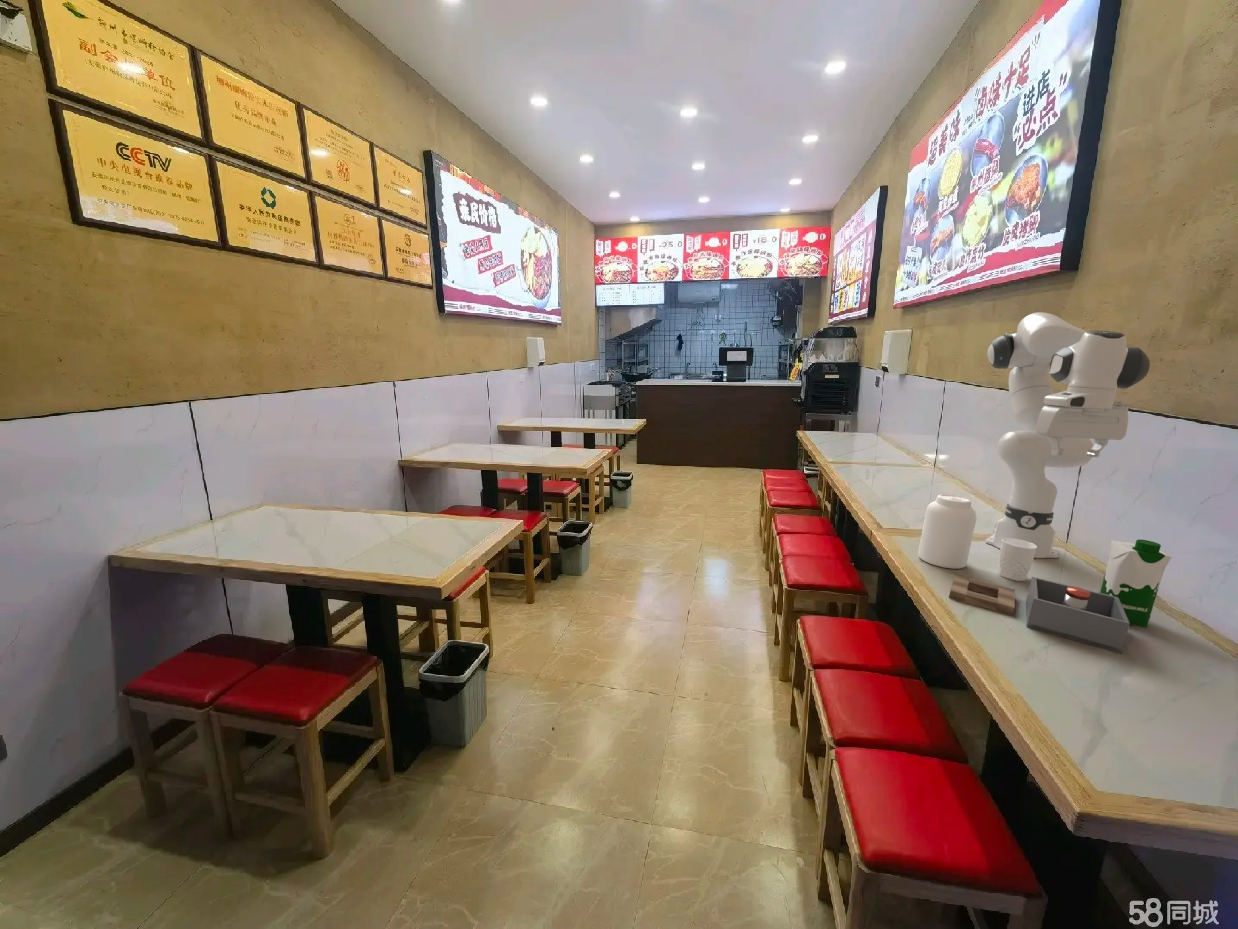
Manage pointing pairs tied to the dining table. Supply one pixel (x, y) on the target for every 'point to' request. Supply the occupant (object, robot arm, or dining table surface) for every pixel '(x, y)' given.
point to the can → (947, 532)
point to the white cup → (1015, 558)
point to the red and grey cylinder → (1076, 598)
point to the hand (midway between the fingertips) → (1074, 456)
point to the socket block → (1000, 604)
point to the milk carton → (1135, 577)
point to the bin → (1077, 616)
